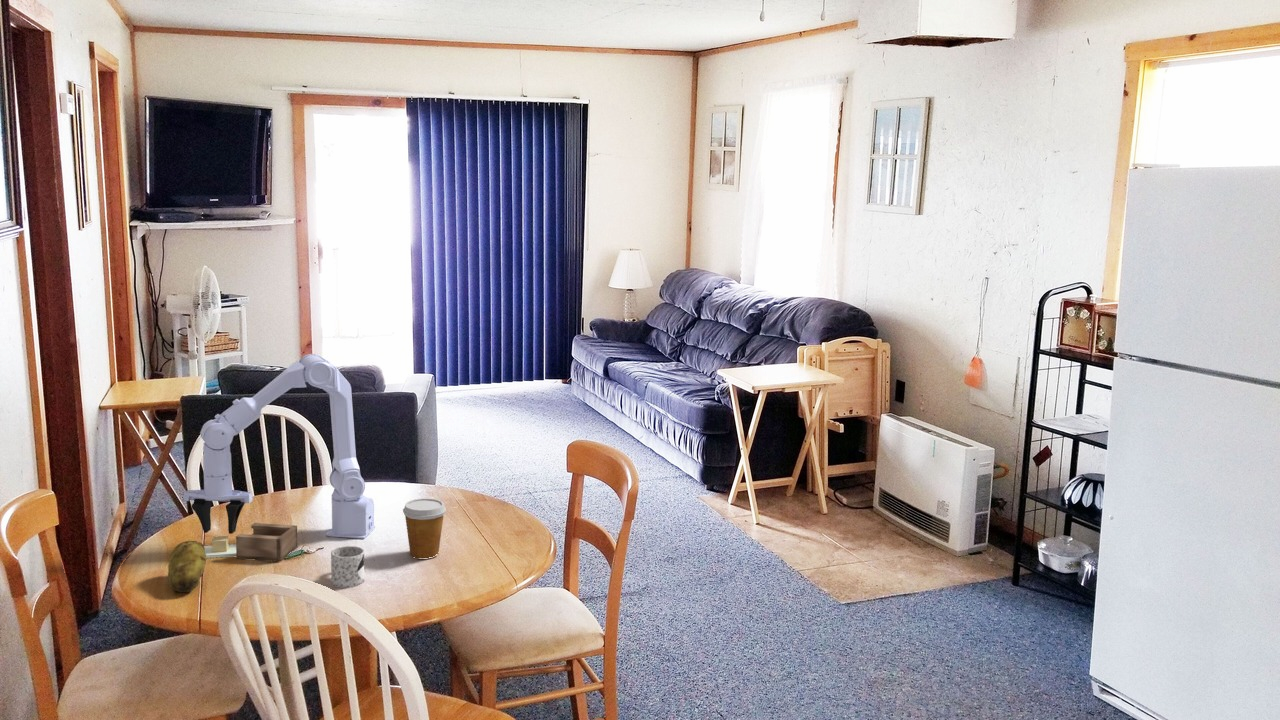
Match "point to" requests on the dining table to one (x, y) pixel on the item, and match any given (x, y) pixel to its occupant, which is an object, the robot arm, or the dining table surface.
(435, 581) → the dining table surface
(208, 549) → the cover plate
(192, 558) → the potato
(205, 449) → the robot arm
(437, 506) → the disposable coffee cup
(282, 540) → the walnut box
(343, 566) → the mug
